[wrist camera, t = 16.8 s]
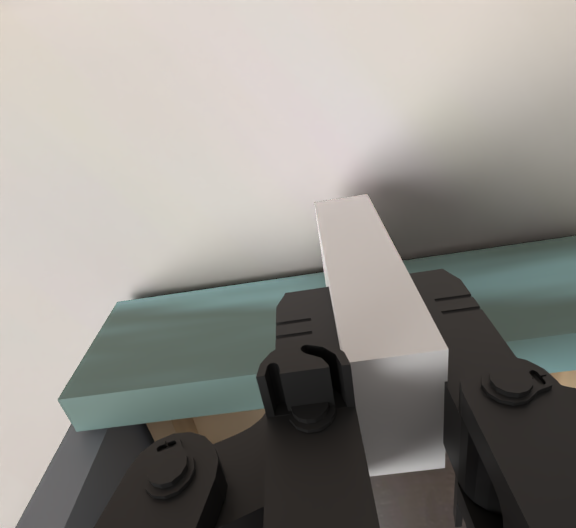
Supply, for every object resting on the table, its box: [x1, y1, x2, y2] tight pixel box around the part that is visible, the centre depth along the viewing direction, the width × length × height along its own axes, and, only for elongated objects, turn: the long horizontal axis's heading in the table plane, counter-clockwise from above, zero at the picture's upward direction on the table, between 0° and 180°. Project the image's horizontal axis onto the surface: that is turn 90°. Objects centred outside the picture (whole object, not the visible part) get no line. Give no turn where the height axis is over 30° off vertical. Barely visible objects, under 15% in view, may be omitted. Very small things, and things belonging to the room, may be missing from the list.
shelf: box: [58, 236, 576, 444], centre depth 16 cm, size 18×16×4 cm
